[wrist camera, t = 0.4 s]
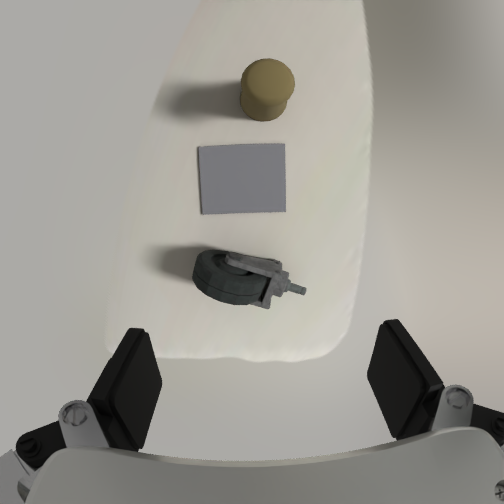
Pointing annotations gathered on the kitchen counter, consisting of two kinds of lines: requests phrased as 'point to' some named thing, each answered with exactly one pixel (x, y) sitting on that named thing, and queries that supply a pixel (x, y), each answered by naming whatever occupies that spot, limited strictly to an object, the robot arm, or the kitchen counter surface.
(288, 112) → the kitchen counter surface
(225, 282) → the caster wheel
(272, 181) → the mat
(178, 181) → the kitchen counter surface
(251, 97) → the cork
